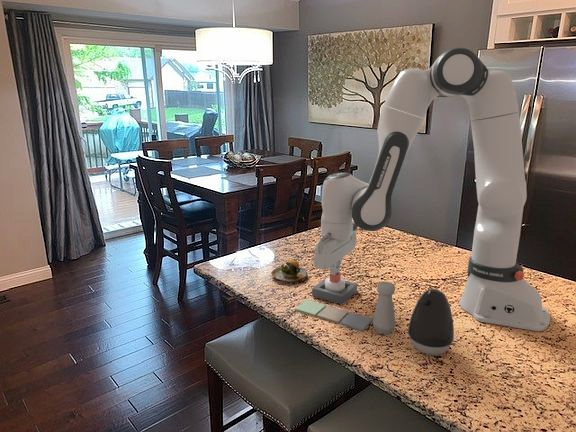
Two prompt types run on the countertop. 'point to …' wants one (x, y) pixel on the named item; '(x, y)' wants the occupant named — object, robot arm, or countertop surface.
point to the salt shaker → (384, 309)
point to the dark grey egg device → (431, 323)
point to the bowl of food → (290, 272)
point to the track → (334, 315)
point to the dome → (335, 283)
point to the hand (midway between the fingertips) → (334, 273)
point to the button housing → (332, 296)
